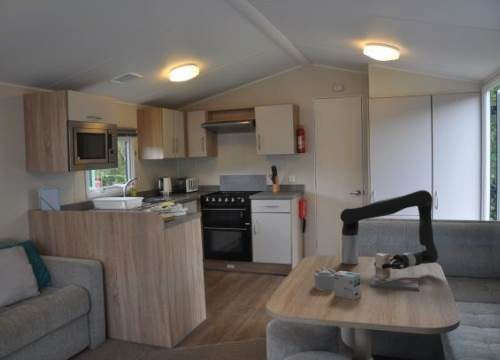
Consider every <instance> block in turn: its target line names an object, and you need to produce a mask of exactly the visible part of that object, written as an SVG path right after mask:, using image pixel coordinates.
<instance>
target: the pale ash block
mask: <svg viewBox="0 0 500 360" xmlns="http://www.w3.org/2000/svg"><path fill="white" fill-rule="evenodd" d="M374 258H375V259H374V260H375V261H374V262H375V263H376V266H374V268H375V269H374V270H375V275H376V278H379V279H382V280H384V279H389V278H390V276H391V269H389V268H387V269H382V265H383V264H389V263H390V258H391V254H389V253H386V252H378V253H375V254H374Z"/></svg>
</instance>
